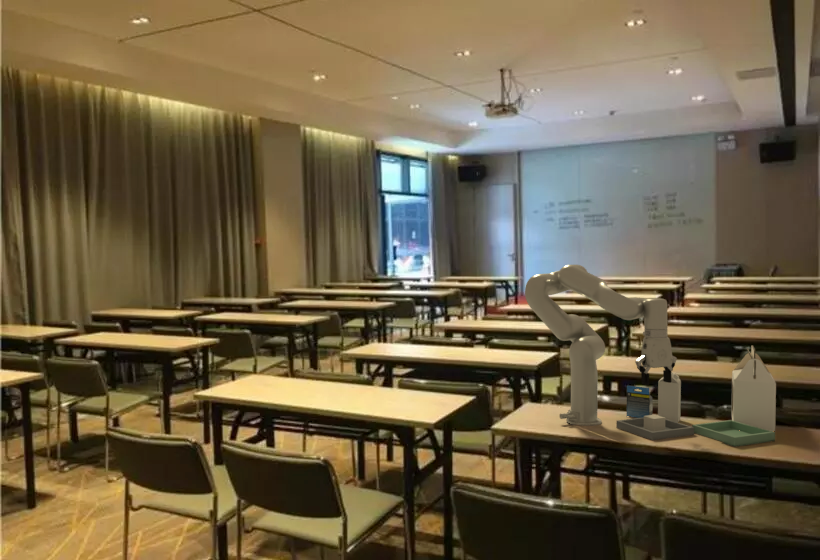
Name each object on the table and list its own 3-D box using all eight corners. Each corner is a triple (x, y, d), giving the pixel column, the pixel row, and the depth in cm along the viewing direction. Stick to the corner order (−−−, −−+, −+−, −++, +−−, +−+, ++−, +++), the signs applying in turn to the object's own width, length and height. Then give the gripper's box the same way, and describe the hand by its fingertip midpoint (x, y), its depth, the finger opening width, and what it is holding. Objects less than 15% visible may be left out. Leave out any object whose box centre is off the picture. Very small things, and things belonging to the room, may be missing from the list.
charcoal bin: (652, 441, 223) (652, 432, 223) (616, 428, 240) (616, 420, 240) (694, 436, 230) (694, 427, 230) (656, 424, 247) (656, 415, 247)
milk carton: (657, 421, 250) (658, 370, 250) (660, 417, 257) (661, 368, 256) (678, 424, 247) (678, 372, 246) (680, 419, 253) (681, 369, 253)
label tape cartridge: (652, 418, 255) (653, 386, 255) (649, 420, 252) (649, 387, 252) (629, 415, 261) (630, 383, 260) (626, 417, 258) (626, 385, 257)
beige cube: (653, 433, 232) (654, 419, 232) (643, 430, 236) (643, 415, 236) (665, 432, 234) (665, 417, 234) (654, 428, 238) (655, 414, 238)
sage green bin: (734, 446, 217) (734, 437, 217) (691, 433, 234) (691, 424, 234) (774, 441, 224) (775, 432, 224) (730, 428, 241) (730, 420, 240)
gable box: (731, 415, 261) (732, 343, 260) (770, 418, 255) (771, 345, 254) (733, 428, 240) (734, 350, 239) (775, 432, 235) (776, 352, 234)
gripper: (643, 336, 227) (644, 387, 227) (683, 333, 234) (683, 382, 234) (628, 334, 234) (629, 383, 234) (667, 331, 241) (667, 379, 241)
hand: (656, 383), depth 234 cm, fingers open, 9 cm apart
